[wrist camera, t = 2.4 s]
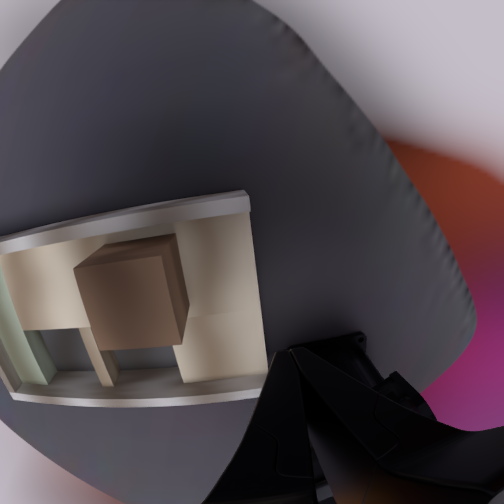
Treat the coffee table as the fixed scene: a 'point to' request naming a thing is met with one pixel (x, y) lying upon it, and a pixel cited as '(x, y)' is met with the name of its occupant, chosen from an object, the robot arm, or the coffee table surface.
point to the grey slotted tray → (142, 359)
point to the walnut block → (135, 293)
